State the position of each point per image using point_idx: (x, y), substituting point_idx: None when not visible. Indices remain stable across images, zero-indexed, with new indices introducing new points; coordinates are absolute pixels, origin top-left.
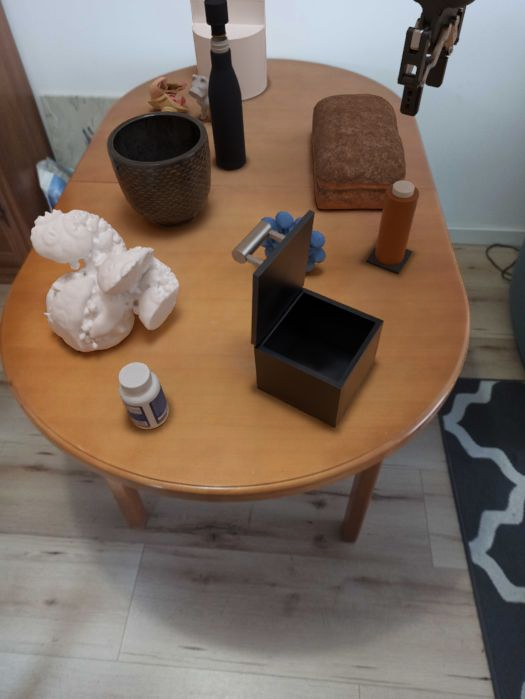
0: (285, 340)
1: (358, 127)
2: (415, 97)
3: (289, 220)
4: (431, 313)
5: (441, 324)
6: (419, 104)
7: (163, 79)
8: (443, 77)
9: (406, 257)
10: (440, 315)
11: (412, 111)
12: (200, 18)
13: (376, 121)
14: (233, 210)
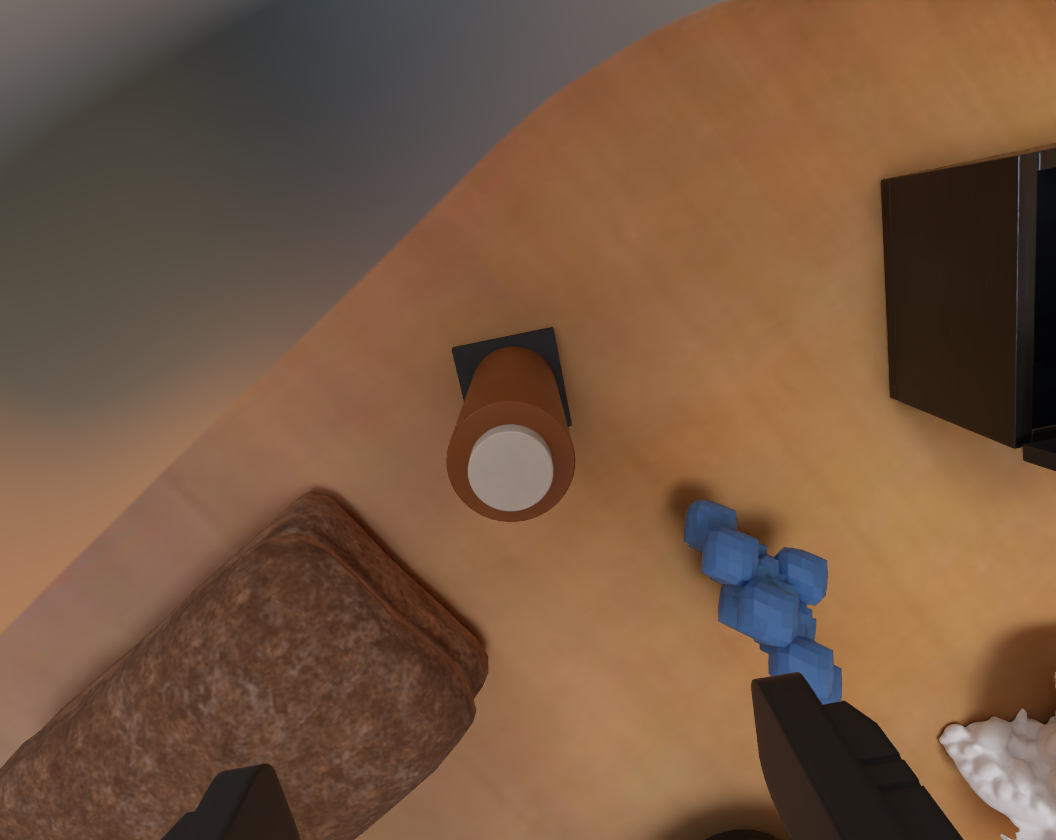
0: (1046, 381)
1: None
2: (921, 821)
3: (812, 656)
4: (626, 161)
5: (645, 113)
6: (802, 731)
7: None
8: (201, 822)
9: (487, 345)
10: (616, 135)
11: (854, 714)
12: None
13: (148, 780)
14: (633, 788)
